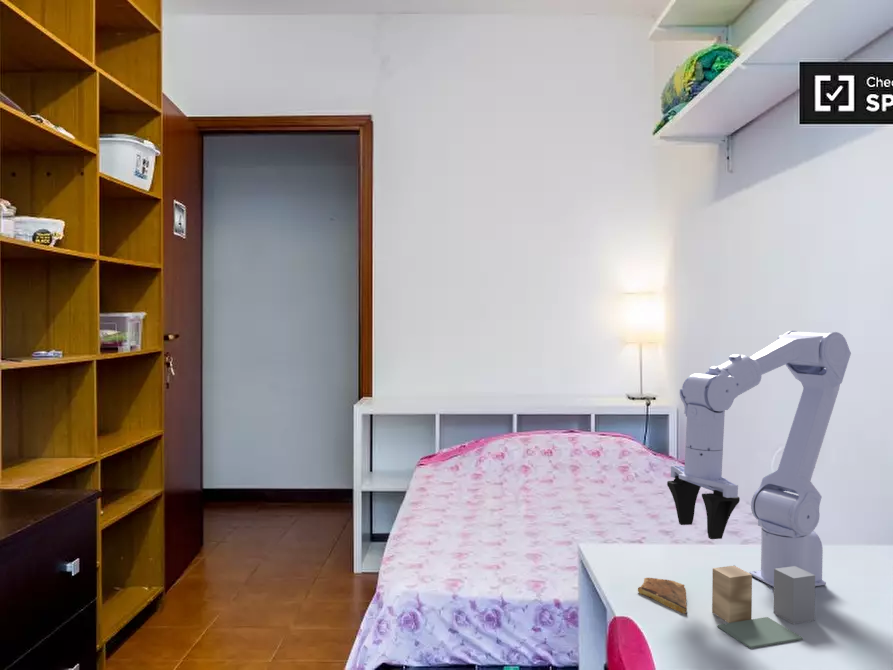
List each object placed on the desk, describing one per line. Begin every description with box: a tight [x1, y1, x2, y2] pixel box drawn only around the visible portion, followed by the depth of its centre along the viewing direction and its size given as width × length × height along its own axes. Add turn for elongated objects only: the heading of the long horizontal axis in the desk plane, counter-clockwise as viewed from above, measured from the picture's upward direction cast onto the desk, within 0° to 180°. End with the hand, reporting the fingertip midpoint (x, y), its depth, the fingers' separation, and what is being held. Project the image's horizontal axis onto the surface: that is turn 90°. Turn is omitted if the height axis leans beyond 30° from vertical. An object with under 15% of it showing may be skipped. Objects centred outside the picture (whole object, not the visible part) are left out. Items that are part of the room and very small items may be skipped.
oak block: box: [711, 565, 753, 623], centre depth 108 cm, size 4×4×7 cm
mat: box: [717, 616, 804, 649], centre depth 102 cm, size 9×7×1 cm
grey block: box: [773, 566, 816, 625], centre depth 107 cm, size 4×4×7 cm
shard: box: [637, 577, 688, 615], centre depth 114 cm, size 11×8×2 cm
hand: (699, 531), depth 113 cm, fingers open, 7 cm apart
